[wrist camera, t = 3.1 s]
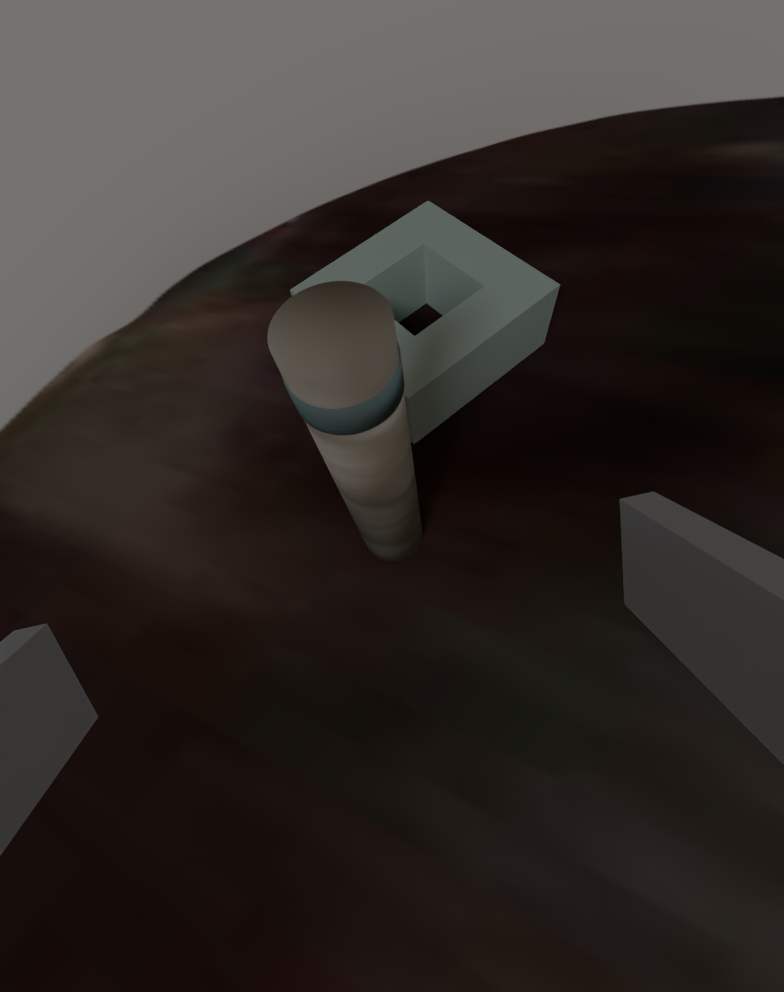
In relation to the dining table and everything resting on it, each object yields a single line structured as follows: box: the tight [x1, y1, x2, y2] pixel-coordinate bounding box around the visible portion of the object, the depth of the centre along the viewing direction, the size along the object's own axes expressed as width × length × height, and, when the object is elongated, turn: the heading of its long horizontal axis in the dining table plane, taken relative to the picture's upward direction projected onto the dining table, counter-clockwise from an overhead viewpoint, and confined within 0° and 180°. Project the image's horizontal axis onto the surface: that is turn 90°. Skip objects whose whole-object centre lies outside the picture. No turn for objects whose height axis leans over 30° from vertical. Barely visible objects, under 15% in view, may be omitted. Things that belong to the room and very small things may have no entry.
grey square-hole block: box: [290, 201, 560, 444], centre depth 28 cm, size 11×11×4 cm
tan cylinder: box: [268, 281, 423, 562], centre depth 18 cm, size 3×3×15 cm
